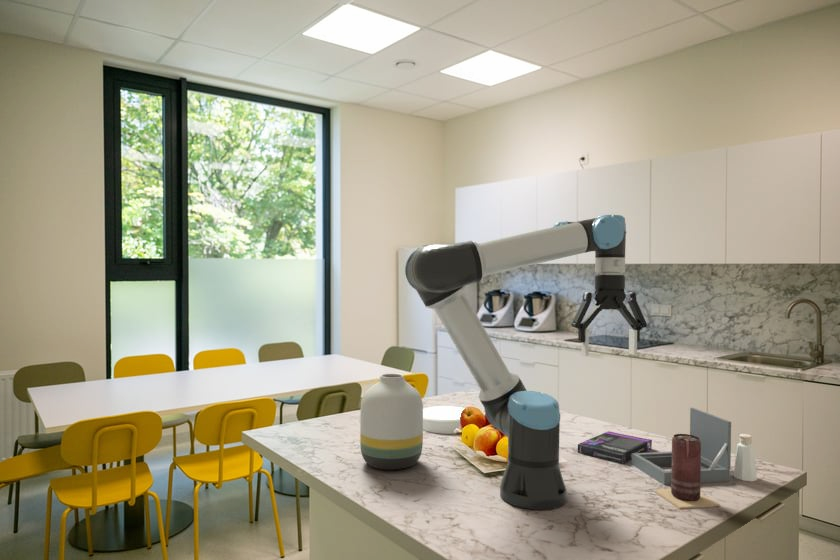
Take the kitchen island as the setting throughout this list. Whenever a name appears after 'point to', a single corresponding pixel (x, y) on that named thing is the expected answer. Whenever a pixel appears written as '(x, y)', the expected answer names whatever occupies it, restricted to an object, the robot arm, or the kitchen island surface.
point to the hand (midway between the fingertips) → (608, 354)
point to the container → (441, 419)
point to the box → (614, 447)
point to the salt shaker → (745, 460)
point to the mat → (681, 504)
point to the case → (713, 451)
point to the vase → (391, 424)
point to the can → (686, 467)
